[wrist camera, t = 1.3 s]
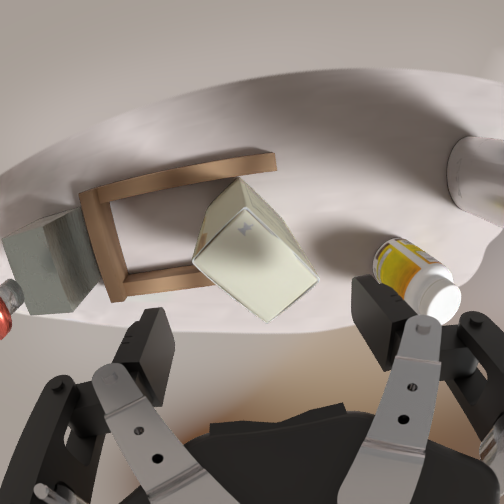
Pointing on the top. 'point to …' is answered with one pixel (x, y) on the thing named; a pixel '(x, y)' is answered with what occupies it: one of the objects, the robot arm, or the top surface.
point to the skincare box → (252, 253)
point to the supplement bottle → (417, 279)
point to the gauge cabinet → (53, 262)
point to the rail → (99, 197)
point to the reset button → (9, 304)
